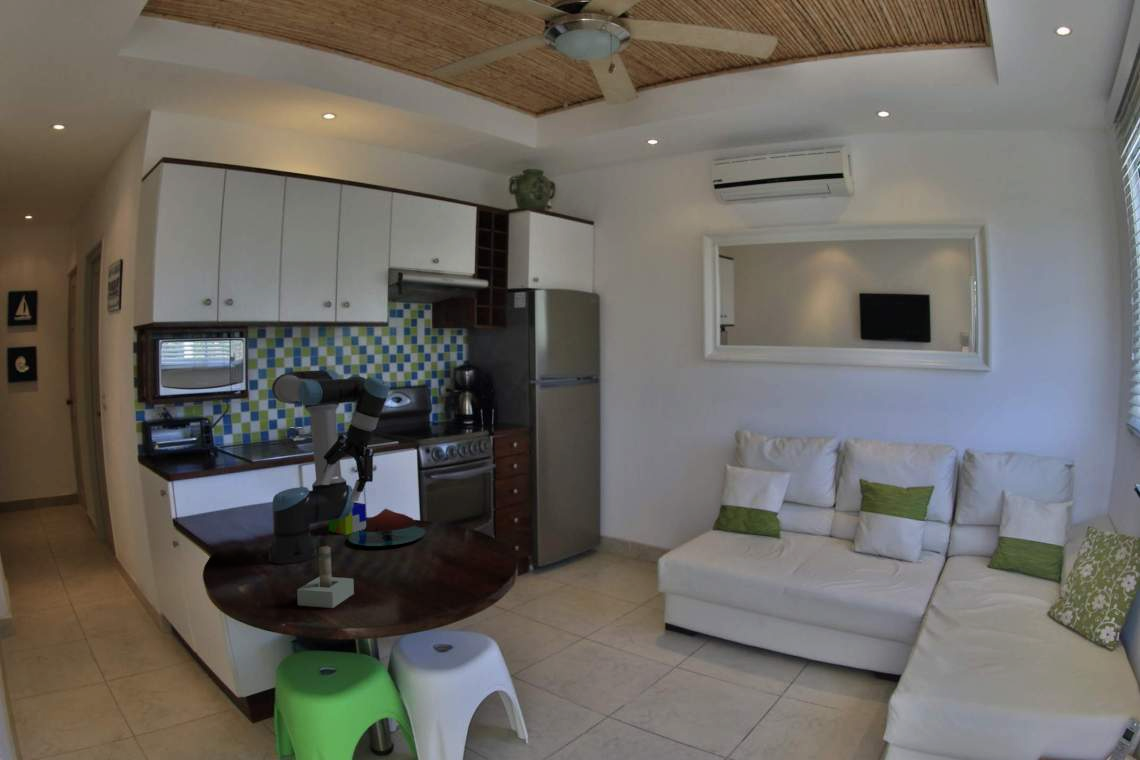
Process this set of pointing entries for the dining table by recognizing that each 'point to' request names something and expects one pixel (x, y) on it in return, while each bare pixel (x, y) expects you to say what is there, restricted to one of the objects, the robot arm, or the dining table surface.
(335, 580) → the grey square-hole block
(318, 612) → the dining table surface
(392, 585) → the dining table surface
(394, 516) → the red and teal hat
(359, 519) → the puzzle toy
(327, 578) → the tan cylinder
